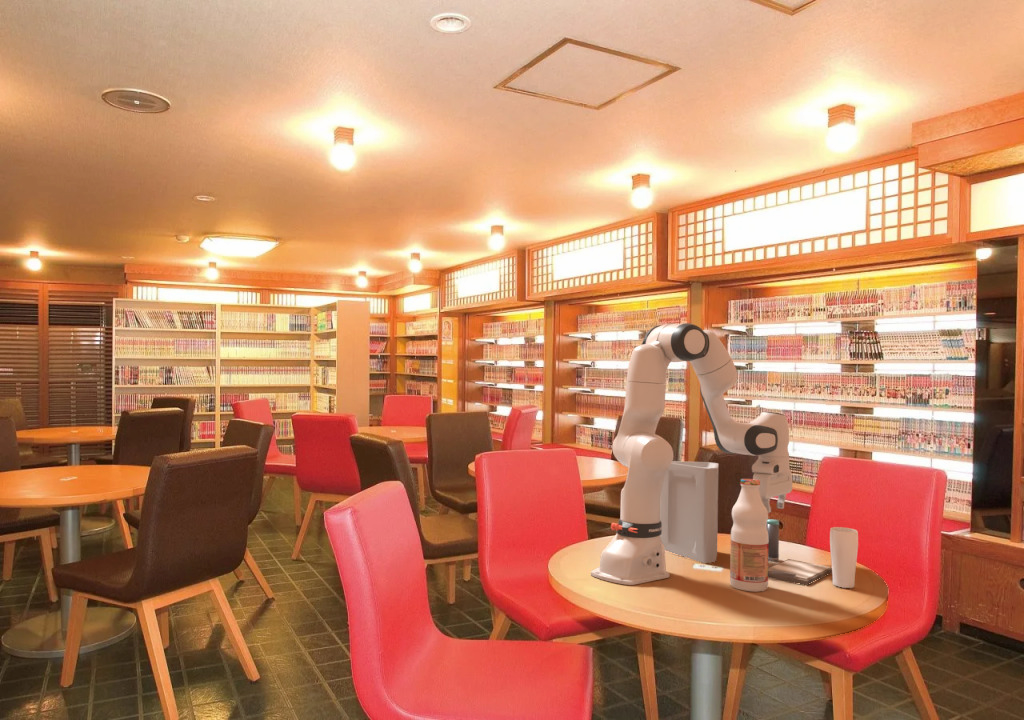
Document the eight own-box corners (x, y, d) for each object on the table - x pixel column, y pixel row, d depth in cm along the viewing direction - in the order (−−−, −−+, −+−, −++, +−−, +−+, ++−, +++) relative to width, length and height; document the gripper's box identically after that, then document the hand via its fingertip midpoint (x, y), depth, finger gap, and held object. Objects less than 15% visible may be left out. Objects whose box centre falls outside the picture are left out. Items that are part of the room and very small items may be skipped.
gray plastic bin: (738, 558, 213) (739, 466, 214) (705, 564, 205) (706, 468, 206) (690, 545, 229) (692, 459, 230) (658, 550, 221) (659, 461, 222)
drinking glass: (855, 584, 187) (856, 528, 188) (859, 591, 181) (859, 533, 181) (828, 581, 190) (828, 526, 190) (830, 588, 183) (831, 530, 184)
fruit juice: (722, 585, 184) (723, 478, 185) (744, 580, 189) (746, 476, 190) (752, 594, 176) (754, 483, 177) (775, 589, 181) (776, 481, 182)
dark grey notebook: (806, 585, 185) (806, 577, 185) (759, 575, 194) (759, 567, 194) (833, 572, 199) (833, 564, 199) (788, 563, 208) (788, 555, 208)
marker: (775, 562, 209) (776, 521, 210) (763, 559, 212) (764, 520, 212) (780, 560, 212) (781, 520, 212) (769, 557, 214) (769, 518, 215)
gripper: (777, 461, 222) (777, 504, 222) (749, 466, 208) (749, 513, 207) (797, 463, 218) (797, 507, 218) (769, 468, 203) (769, 516, 203)
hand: (773, 510), depth 212 cm, fingers open, 8 cm apart
